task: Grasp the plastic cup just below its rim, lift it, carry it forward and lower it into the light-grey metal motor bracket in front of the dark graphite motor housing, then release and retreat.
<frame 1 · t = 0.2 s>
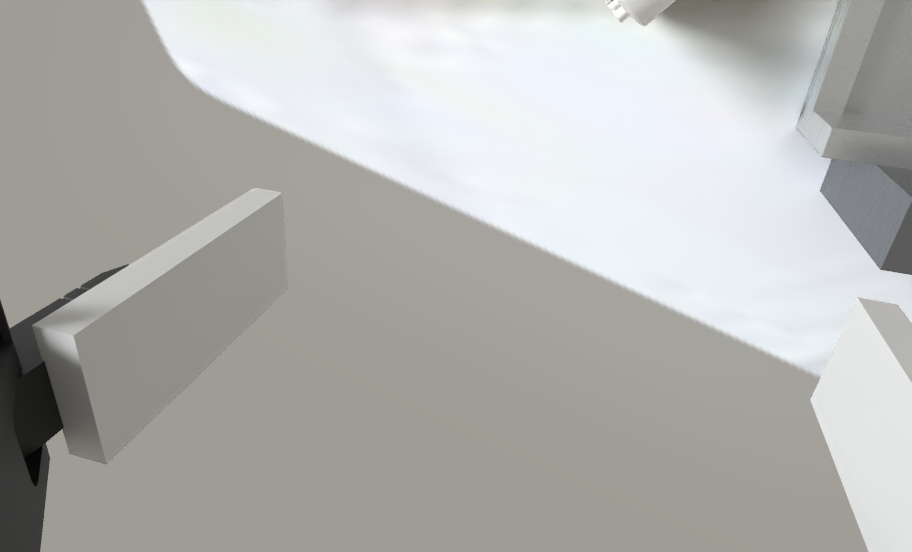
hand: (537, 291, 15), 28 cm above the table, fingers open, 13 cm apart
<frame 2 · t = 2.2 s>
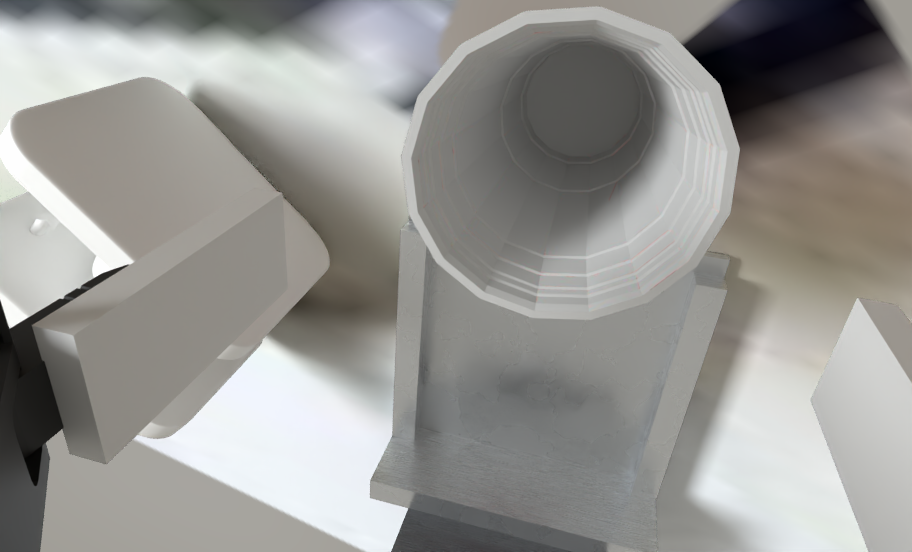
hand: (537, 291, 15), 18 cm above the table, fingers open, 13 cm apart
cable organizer: (221, 216, 39), on the table
plastic cup: (585, 103, 30), on the table
motor bracket: (540, 353, 38), on the table
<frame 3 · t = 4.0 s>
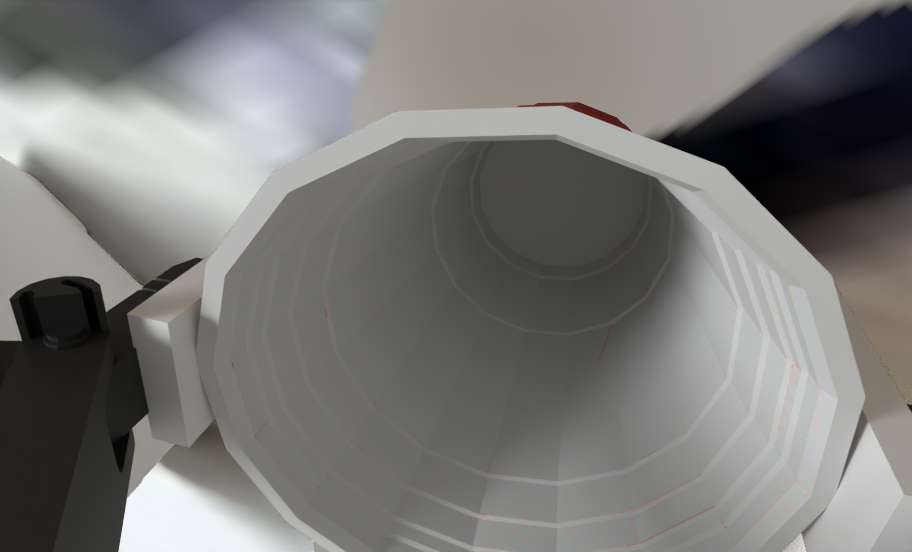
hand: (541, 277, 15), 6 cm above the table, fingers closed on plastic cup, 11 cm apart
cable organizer: (85, 316, 29), on the table
plastic cup: (567, 192, 21), on the table, touching gripper
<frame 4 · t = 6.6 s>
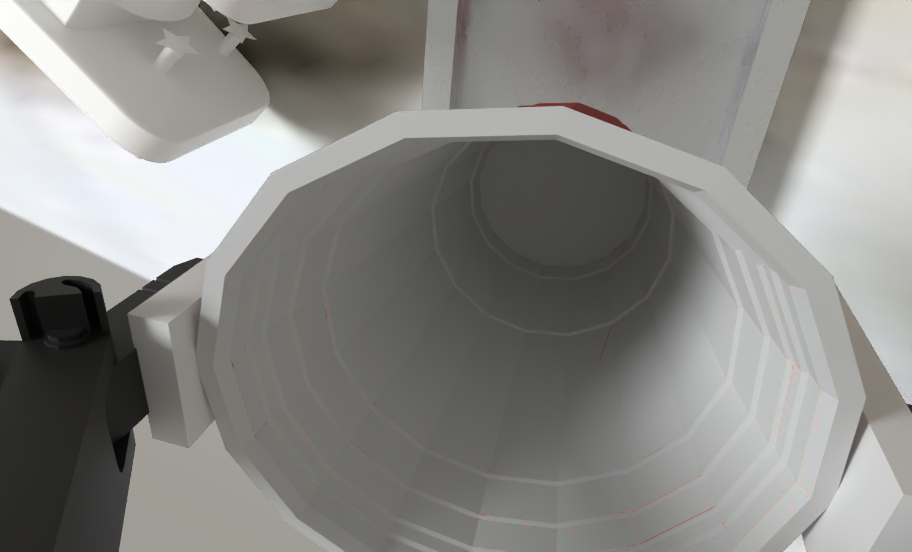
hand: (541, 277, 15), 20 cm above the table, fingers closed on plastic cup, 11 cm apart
plastic cup: (567, 192, 20), point 14 cm above the table, touching gripper
motor bracket: (588, 102, 33), on the table
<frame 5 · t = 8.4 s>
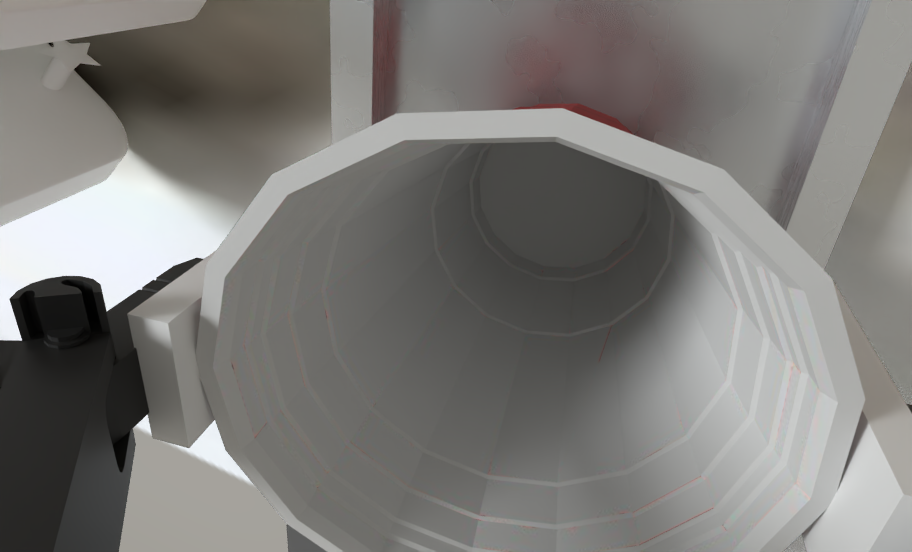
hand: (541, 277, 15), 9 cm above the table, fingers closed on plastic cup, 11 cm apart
plastic cup: (566, 193, 21), point 2 cm above the table, touching gripper
motor bracket: (574, 155, 22), on the table
when the fingers open (8 cm above the table, at t = 9.5 s): plastic cup drops 1 cm, resting on motor bracket.
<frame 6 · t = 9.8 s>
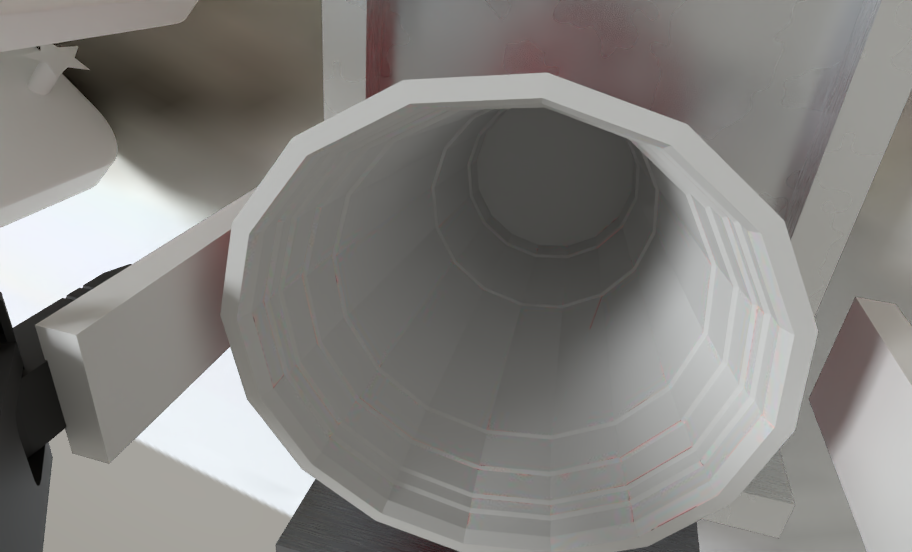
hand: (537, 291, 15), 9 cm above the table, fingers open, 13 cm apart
plastic cup: (559, 175, 22), resting on motor bracket
motor bracket: (573, 162, 22), on the table
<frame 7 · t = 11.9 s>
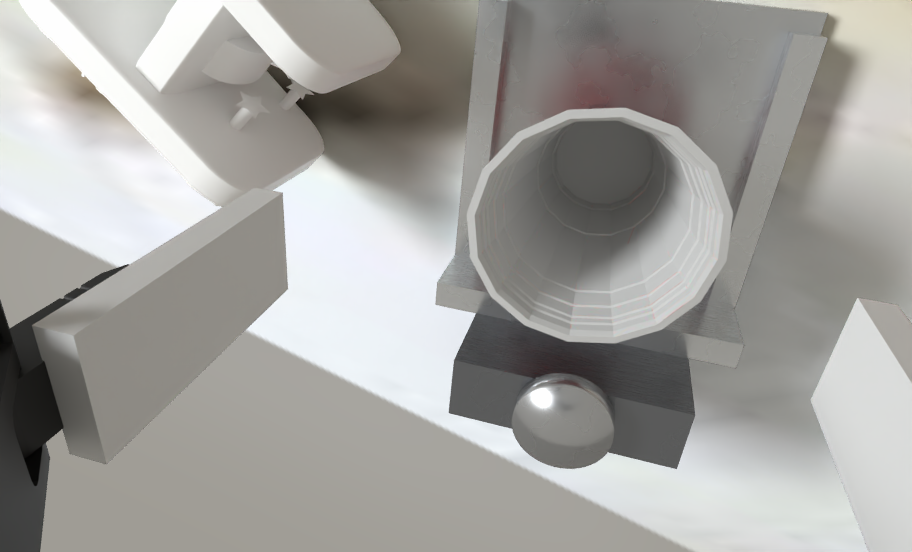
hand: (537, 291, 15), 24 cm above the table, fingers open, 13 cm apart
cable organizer: (286, 18, 38), on the table
plastic cup: (606, 160, 36), resting on motor bracket
motor bracket: (615, 152, 36), on the table
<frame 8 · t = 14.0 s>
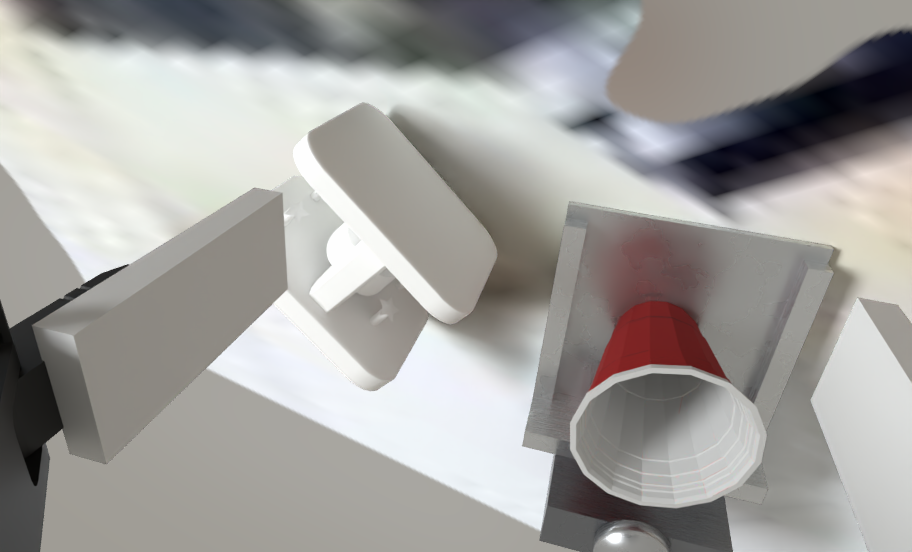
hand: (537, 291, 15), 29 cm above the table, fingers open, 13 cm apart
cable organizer: (399, 214, 48), on the table
plastic cup: (658, 334, 46), resting on motor bracket
motor bracket: (664, 328, 46), on the table
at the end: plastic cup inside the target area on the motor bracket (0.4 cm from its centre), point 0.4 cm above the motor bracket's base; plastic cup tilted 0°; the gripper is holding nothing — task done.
